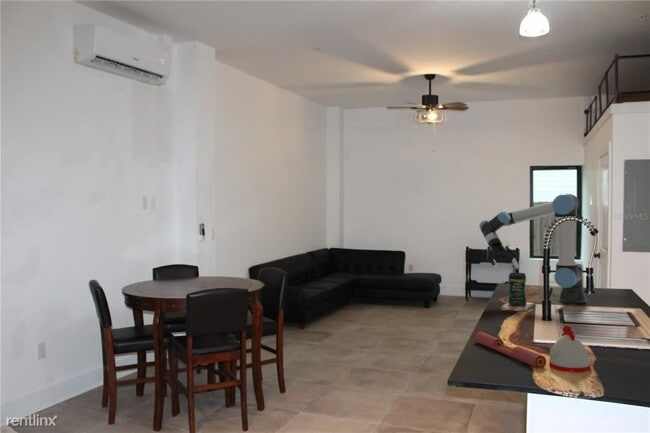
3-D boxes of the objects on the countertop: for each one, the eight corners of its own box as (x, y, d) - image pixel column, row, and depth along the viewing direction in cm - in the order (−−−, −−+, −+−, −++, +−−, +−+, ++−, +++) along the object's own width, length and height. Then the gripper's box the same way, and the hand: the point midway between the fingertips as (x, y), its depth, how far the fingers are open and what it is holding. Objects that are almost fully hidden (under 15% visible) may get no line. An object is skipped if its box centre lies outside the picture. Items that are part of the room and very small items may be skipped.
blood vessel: (474, 343, 247) (474, 332, 247) (484, 342, 248) (484, 331, 248) (535, 369, 207) (534, 356, 206) (546, 368, 208) (546, 354, 208)
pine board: (533, 305, 329) (533, 302, 329) (526, 311, 312) (526, 308, 312) (509, 303, 337) (509, 301, 337) (500, 309, 320) (500, 306, 320)
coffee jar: (507, 305, 323) (507, 273, 323) (510, 303, 330) (509, 271, 330) (525, 306, 319) (524, 273, 318) (527, 304, 326) (526, 272, 326)
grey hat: (579, 360, 215) (578, 321, 215) (597, 371, 201) (596, 329, 201) (543, 362, 215) (542, 323, 214) (559, 373, 201) (558, 331, 201)
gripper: (509, 244, 353) (523, 271, 338) (473, 246, 347) (486, 273, 332) (514, 236, 347) (528, 263, 333) (477, 238, 341) (491, 265, 327)
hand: (507, 268), depth 333 cm, fingers open, 13 cm apart
